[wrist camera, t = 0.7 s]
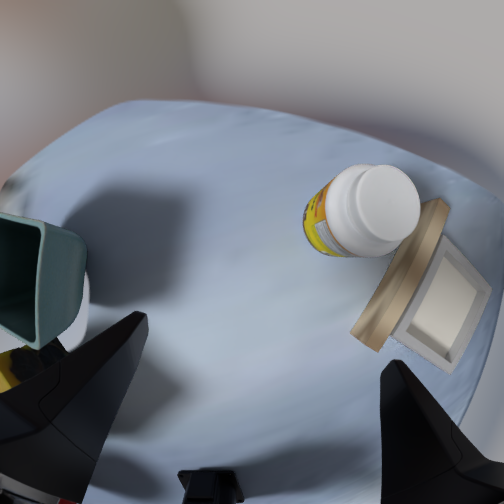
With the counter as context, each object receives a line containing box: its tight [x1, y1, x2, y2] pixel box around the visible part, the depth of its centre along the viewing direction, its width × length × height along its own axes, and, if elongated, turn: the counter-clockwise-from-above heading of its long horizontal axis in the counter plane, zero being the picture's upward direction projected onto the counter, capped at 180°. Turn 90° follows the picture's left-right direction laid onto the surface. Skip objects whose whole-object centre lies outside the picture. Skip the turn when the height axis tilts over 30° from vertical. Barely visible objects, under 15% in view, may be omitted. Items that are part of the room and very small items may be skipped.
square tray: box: [390, 235, 492, 375], centre depth 21 cm, size 10×10×2 cm
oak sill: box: [350, 198, 450, 352], centre depth 20 cm, size 14×2×4 cm, turn 147°
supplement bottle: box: [303, 164, 420, 258], centre depth 17 cm, size 6×6×10 cm
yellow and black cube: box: [0, 337, 70, 393], centre depth 17 cm, size 10×10×10 cm
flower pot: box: [0, 212, 87, 350], centre depth 17 cm, size 9×9×9 cm
